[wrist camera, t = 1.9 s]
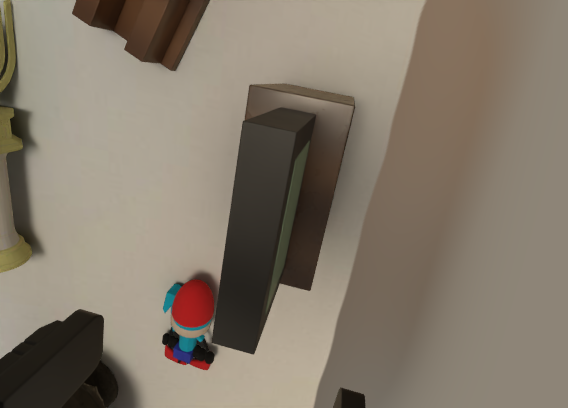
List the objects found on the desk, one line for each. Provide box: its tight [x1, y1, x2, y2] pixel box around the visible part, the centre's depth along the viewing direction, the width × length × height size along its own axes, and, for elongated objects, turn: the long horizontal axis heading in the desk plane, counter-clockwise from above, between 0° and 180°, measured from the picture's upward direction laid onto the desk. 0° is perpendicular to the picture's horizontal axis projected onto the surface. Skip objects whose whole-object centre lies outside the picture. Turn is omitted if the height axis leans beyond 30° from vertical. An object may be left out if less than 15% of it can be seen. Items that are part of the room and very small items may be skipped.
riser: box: [245, 84, 355, 291], centre depth 32 cm, size 14×7×13 cm, turn 170°
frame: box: [212, 107, 316, 354], centre depth 22 cm, size 12×2×9 cm, turn 170°
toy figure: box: [162, 279, 214, 370], centre depth 45 cm, size 8×5×15 cm
